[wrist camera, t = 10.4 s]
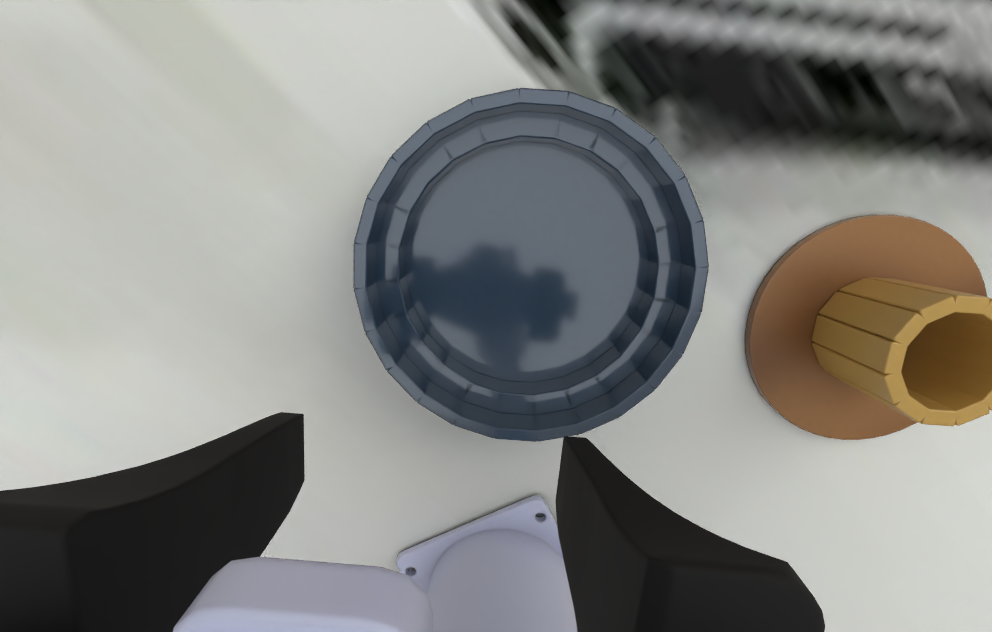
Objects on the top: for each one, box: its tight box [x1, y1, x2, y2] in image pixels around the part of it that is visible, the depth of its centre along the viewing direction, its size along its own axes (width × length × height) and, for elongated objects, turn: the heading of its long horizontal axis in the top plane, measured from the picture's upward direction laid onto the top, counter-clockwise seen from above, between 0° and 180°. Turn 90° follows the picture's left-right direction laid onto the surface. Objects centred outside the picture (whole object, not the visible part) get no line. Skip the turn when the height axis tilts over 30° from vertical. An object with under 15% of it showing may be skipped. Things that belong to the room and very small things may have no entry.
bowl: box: [354, 88, 709, 442], centre depth 20 cm, size 13×13×4 cm
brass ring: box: [812, 277, 992, 426], centre depth 20 cm, size 5×5×4 cm
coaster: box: [745, 215, 987, 440], centre depth 22 cm, size 10×10×1 cm
